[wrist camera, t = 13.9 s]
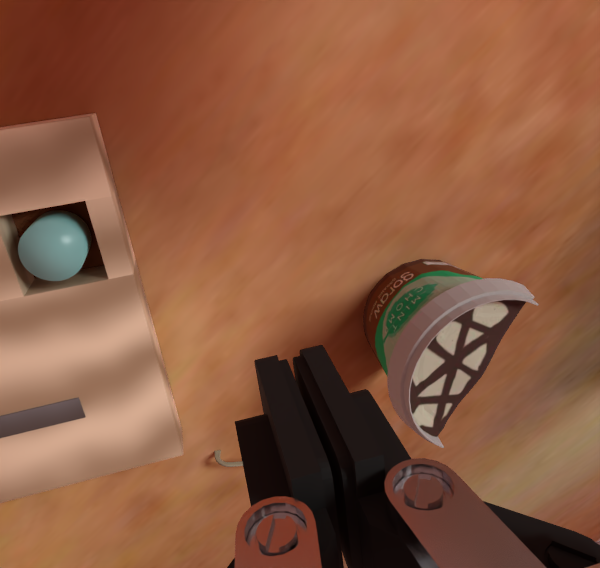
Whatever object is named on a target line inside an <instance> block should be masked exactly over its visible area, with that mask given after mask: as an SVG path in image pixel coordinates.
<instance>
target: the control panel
mask: <svg viewBox="0 0 600 568" xmlns="http://www.w3.org/2000/svg"><path fill="white" fill-rule="evenodd" d="M82 201H85V202H86V205H87V209H88V212H89V215H90V219H91V222H92V225H93V229H94V232H95V235H96V239H97V242H98V245H99V249H100V252H101V255H102V259H103V262H104V265H102V266H97V267H92V268H87V269H82V270H79V271H78V272H77V273H76V274H75V275H74V276H72V277H70V278H68V279H65V280H61V281H48V280H43V279H40V278H37V279H35V278H34V276H33V274H31V273H30V272H29V271H28V270H27V269H26V268H25V267H24V266H23V264H22V262H21V260H20V258H19V254H18V245H19V241H20V237H19V234H18V231H17V229H16V226H15V223H14V220H13V217H12V215H11V214H14V213H19V212H25V211H31V210H36V209H42V208H48V207H53V206H59V205H65V204H70V203H76V202H82ZM181 455H183V437H182V427H181V424H180V420H179V416H178V413H177V409H176V405H175V402H174V398H173V394H172V391H171V387H170V383H169V380H168V376H167V372H166V369H165V365H164V361H163V358H162V354H161V350H160V347H159V343H158V339H157V336H156V332H155V328H154V325H153V321H152V317H151V314H150V310H149V306H148V303H147V299H146V295H145V292H144V288H143V284H142V281H141V277H140V273H139V270H138V266H137V262H136V259H135V255H134V251H133V248H132V244H131V240H130V237H129V233H128V229H127V226H126V222H125V218H124V215H123V211H122V207H121V204H120V200H119V196H118V193H117V189H116V185H115V182H114V178H113V174H112V171H111V167H110V163H109V160H108V156H107V152H106V149H105V145H104V141H103V138H102V134H101V130H100V127H99V123H98V119H97V116H96V113H92V114H86V115H79V116H72V117H65V118H59V119H52V120H45V121H39V122H32V123H25V124H19V125H12V126H5V127H0V503H3V502H7V501H11V500H14V499H18V498H22V497H26V496H29V495H33V494H37V493H41V492H45V491H48V490H52V489H56V488H60V487H64V486H67V485H71V484H75V483H79V482H82V481H86V480H90V479H94V478H98V477H101V476H105V475H109V474H113V473H117V472H120V471H124V470H128V469H132V468H135V467H139V466H143V465H147V464H151V463H154V462H158V461H162V460H166V459H169V458H173V457H177V456H181Z"/></svg>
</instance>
